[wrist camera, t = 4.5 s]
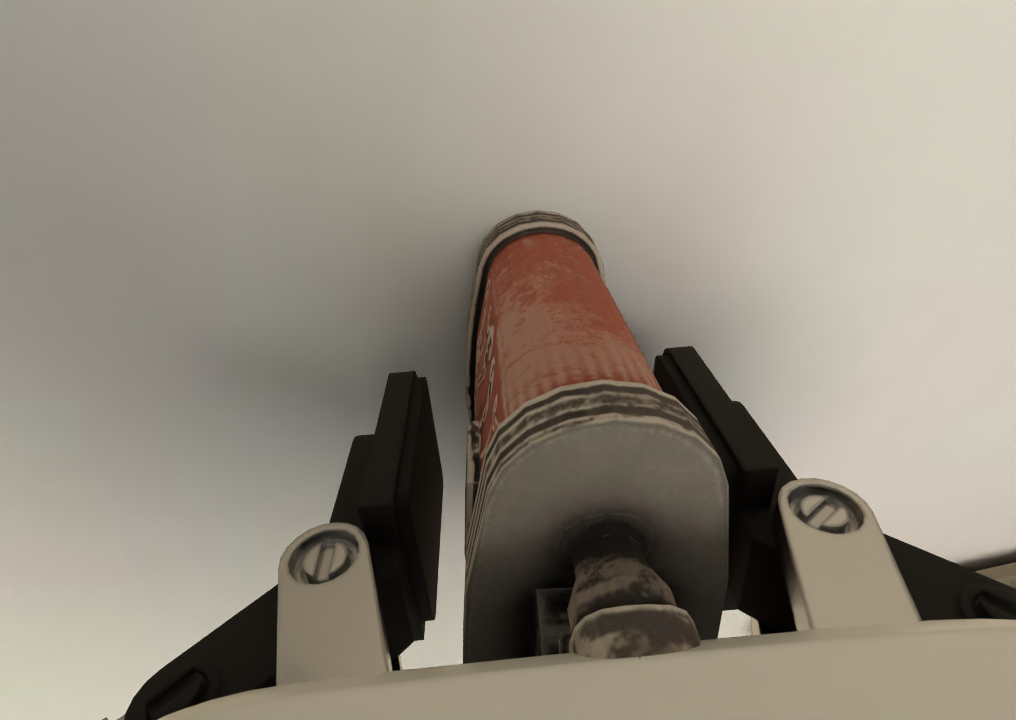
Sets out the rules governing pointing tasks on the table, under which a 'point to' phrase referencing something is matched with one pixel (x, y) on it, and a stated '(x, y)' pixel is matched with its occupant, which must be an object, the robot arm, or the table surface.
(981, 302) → the table surface
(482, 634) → the lighter
